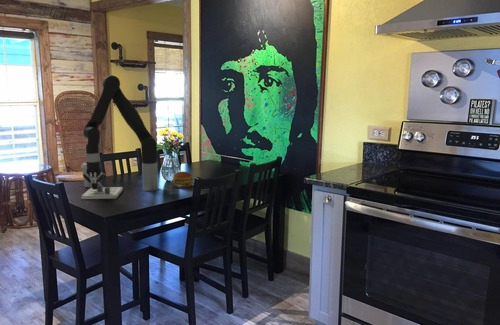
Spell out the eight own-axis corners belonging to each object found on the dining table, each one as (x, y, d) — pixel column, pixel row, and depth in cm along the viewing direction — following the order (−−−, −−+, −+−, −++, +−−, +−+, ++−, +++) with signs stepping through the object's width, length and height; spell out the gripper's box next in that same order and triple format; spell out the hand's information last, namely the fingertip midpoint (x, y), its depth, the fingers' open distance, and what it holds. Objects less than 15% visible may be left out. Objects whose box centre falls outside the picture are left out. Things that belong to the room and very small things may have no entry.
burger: (189, 189, 263) (188, 174, 261) (169, 188, 266) (168, 173, 264) (196, 185, 276) (195, 170, 274) (176, 184, 279) (176, 169, 277)
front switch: (110, 192, 245) (110, 186, 244) (109, 193, 242) (108, 187, 241) (105, 192, 245) (105, 186, 244) (104, 193, 242) (104, 187, 241)
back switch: (101, 187, 256) (100, 182, 255) (100, 188, 253) (99, 183, 252) (97, 187, 255) (96, 182, 255) (95, 189, 252) (95, 183, 252)
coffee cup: (81, 188, 264) (79, 165, 262) (83, 184, 273) (81, 162, 271) (97, 187, 267) (96, 164, 264) (98, 184, 276) (97, 161, 273)
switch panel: (122, 190, 260) (122, 187, 260) (116, 198, 240) (115, 194, 240) (91, 190, 258) (91, 187, 257) (81, 199, 238) (81, 195, 238)
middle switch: (103, 190, 250) (102, 184, 249) (101, 191, 247) (101, 185, 246) (98, 190, 250) (98, 184, 249) (97, 191, 247) (97, 185, 246)
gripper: (106, 159, 249) (107, 187, 252) (83, 159, 248) (85, 187, 251) (103, 161, 242) (104, 190, 245) (79, 161, 241) (81, 190, 244)
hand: (94, 189), depth 248 cm, fingers closed
